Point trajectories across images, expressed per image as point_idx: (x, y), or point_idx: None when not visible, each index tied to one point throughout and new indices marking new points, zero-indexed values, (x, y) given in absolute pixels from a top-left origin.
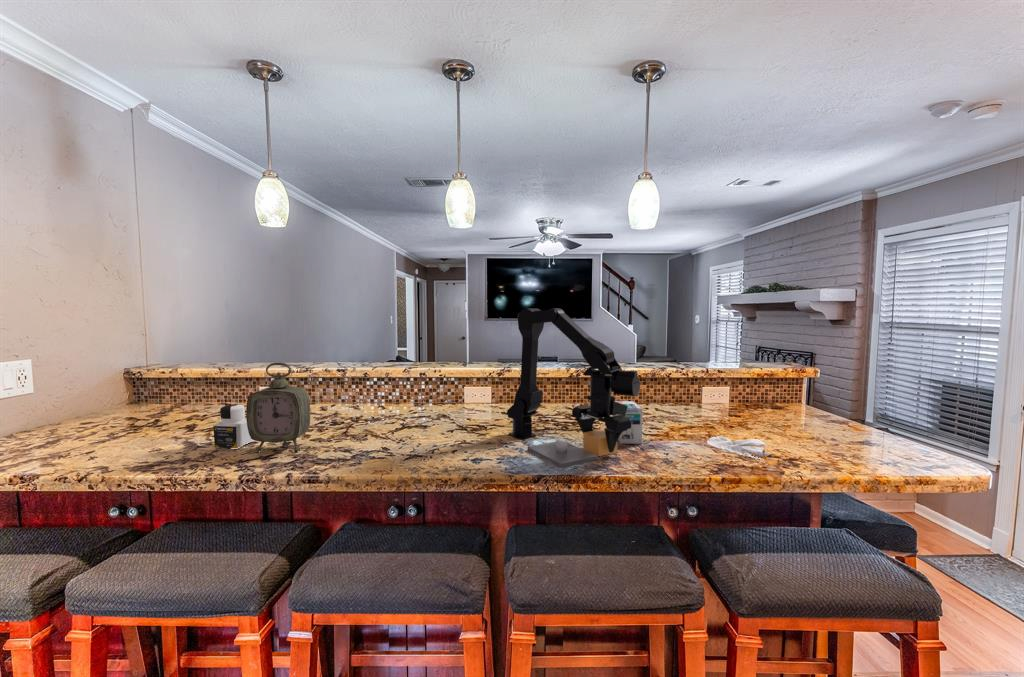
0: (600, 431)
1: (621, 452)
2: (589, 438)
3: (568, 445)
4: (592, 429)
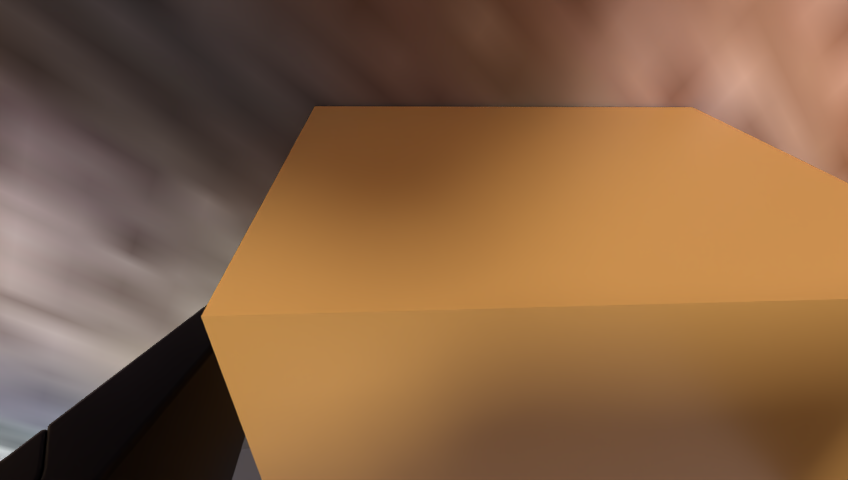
0: (425, 445)
1: (743, 28)
2: None
3: (246, 476)
4: (112, 475)
